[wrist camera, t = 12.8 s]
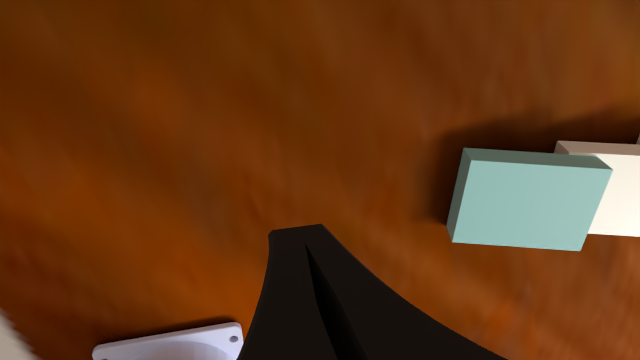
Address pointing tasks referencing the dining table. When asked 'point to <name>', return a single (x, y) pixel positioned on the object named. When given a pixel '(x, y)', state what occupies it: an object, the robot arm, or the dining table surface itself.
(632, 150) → the domino
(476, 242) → the domino teal
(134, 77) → the dining table surface
